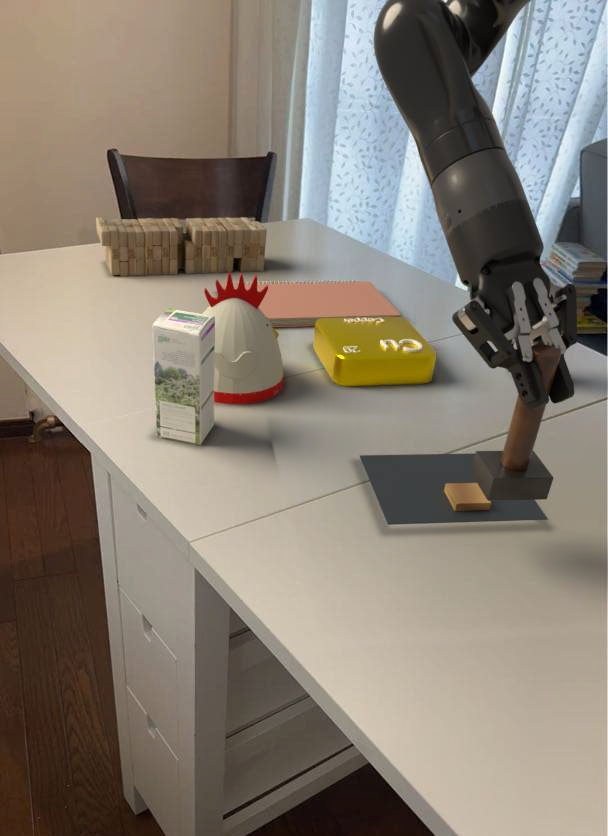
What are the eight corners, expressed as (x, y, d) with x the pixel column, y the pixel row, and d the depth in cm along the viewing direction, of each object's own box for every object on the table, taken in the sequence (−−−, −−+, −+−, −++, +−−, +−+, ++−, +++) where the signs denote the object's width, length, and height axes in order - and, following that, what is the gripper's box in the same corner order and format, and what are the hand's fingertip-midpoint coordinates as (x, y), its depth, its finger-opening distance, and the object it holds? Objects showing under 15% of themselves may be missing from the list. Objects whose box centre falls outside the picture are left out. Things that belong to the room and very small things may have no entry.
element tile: (401, 342, 126) (406, 312, 123) (436, 384, 114) (442, 353, 111) (309, 344, 122) (312, 314, 119) (335, 388, 111) (339, 356, 108)
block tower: (252, 262, 154) (97, 262, 144) (255, 217, 149) (95, 213, 139) (263, 276, 148) (103, 277, 138) (267, 229, 143) (101, 226, 134)
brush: (527, 471, 80) (566, 338, 71) (547, 499, 76) (590, 362, 67) (470, 472, 79) (503, 337, 70) (487, 501, 75) (524, 362, 66)
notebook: (366, 288, 144) (368, 277, 143) (399, 324, 132) (401, 313, 130) (218, 291, 138) (218, 280, 136) (237, 329, 125) (237, 317, 124)
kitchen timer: (284, 407, 105) (292, 295, 96) (179, 403, 104) (177, 289, 95) (280, 362, 116) (286, 258, 107) (184, 358, 115) (183, 252, 106)
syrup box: (215, 425, 100) (217, 313, 91) (200, 448, 95) (200, 332, 86) (172, 417, 101) (169, 305, 92) (154, 439, 96) (150, 323, 87)
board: (500, 461, 98) (502, 452, 97) (545, 528, 87) (548, 519, 86) (358, 463, 95) (359, 455, 94) (386, 533, 84) (387, 524, 83)
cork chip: (477, 490, 90) (479, 482, 90) (489, 510, 87) (491, 502, 86) (443, 490, 89) (445, 483, 89) (454, 511, 86) (456, 503, 86)
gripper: (452, 201, 64) (525, 404, 63) (570, 190, 71) (637, 374, 70) (401, 249, 70) (466, 433, 70) (513, 234, 77) (573, 402, 77)
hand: (551, 402), depth 70 cm, fingers closed on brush, 2 cm apart
